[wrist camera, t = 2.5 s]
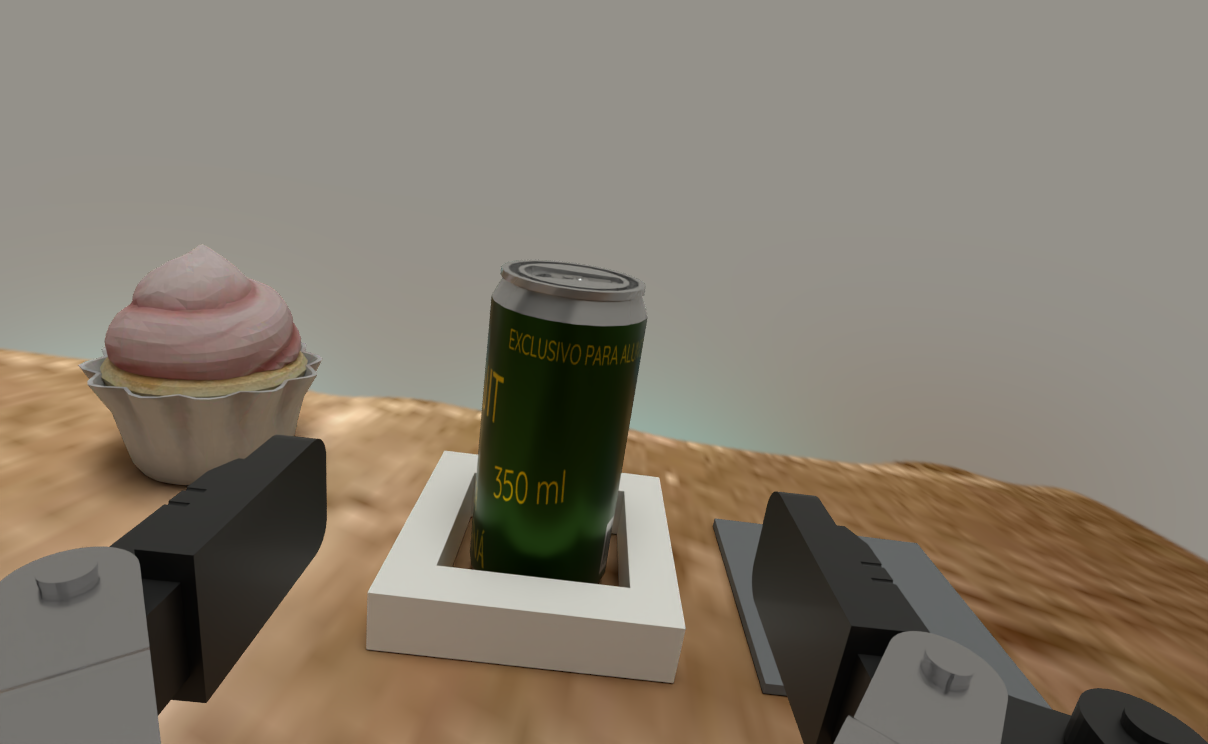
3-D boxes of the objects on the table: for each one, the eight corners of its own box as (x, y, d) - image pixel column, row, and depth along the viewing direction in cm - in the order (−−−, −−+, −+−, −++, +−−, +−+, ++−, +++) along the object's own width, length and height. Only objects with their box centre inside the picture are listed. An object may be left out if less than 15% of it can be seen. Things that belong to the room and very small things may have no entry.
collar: (366, 649, 20) (367, 592, 20) (442, 492, 30) (444, 450, 29) (673, 683, 21) (685, 629, 20) (651, 518, 30) (659, 477, 29)
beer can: (597, 536, 28) (639, 270, 24) (611, 621, 23) (667, 302, 19) (474, 528, 27) (498, 252, 23) (461, 615, 22) (488, 281, 18)
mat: (763, 693, 21) (765, 683, 21) (713, 525, 30) (714, 518, 30) (1053, 725, 21) (1057, 715, 21) (914, 550, 31) (917, 543, 31)
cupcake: (311, 409, 36) (310, 234, 33) (336, 489, 29) (336, 273, 26) (107, 423, 32) (82, 220, 28) (72, 523, 24) (33, 263, 21)
